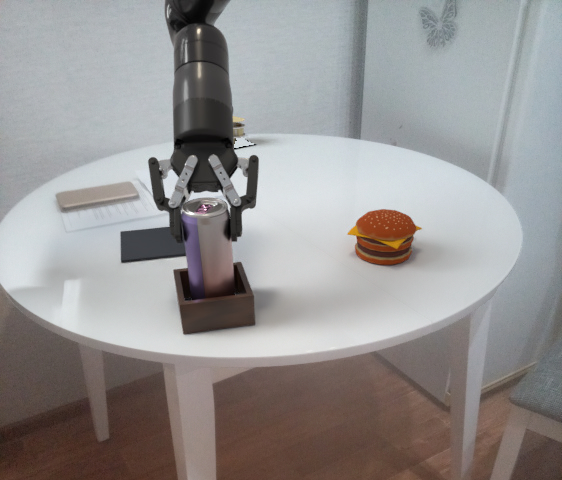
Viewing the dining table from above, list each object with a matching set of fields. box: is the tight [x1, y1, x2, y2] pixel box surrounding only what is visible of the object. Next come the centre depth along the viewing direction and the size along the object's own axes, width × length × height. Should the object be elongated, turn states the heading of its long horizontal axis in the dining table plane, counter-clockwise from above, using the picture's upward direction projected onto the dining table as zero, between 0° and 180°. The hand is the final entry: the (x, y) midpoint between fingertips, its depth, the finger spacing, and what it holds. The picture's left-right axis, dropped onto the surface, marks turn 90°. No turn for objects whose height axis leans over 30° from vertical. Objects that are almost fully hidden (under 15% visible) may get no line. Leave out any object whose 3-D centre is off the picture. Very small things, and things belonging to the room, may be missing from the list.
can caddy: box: [172, 261, 256, 335], centre depth 76 cm, size 10×10×4 cm
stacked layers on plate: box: [233, 115, 246, 144], centre depth 134 cm, size 10×9×6 cm
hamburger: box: [346, 208, 423, 266], centre depth 89 cm, size 9×10×7 cm
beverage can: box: [181, 197, 236, 300], centre depth 73 cm, size 6×6×15 cm
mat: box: [119, 226, 186, 263], centre depth 94 cm, size 11×11×1 cm
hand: (206, 240), depth 69 cm, fingers open, 6 cm apart
